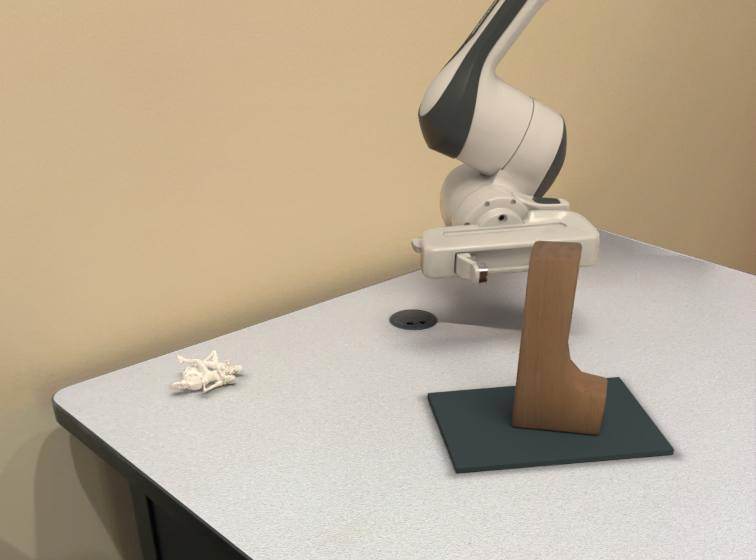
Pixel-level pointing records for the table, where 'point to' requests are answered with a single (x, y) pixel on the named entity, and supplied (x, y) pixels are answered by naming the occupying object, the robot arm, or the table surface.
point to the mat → (539, 431)
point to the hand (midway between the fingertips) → (524, 273)
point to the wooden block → (554, 349)
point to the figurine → (206, 373)
